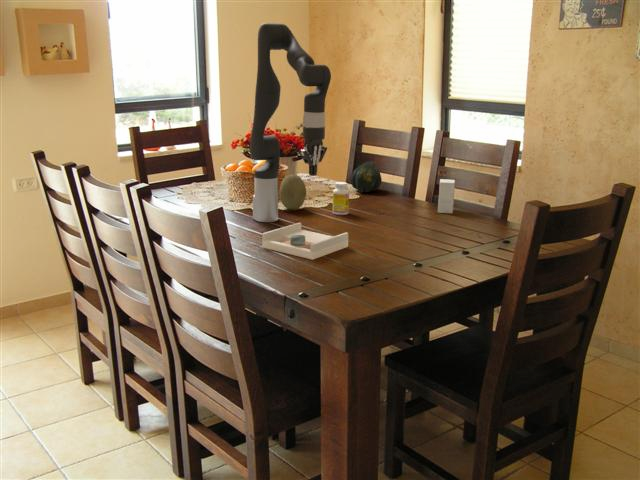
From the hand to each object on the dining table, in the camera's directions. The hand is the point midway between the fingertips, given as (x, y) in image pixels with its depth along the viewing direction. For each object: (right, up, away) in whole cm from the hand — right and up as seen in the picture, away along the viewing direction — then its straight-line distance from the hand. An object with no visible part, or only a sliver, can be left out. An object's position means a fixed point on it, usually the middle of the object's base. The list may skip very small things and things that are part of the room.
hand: (312, 175), depth 247 cm
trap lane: (-3, -25, 0) cm, 25 cm away
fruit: (-9, -10, +55) cm, 56 cm away
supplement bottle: (+11, -12, +48) cm, 51 cm away
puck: (-5, -24, -5) cm, 25 cm away
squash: (+24, +1, +93) cm, 96 cm away
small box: (+56, -10, +55) cm, 79 cm away
